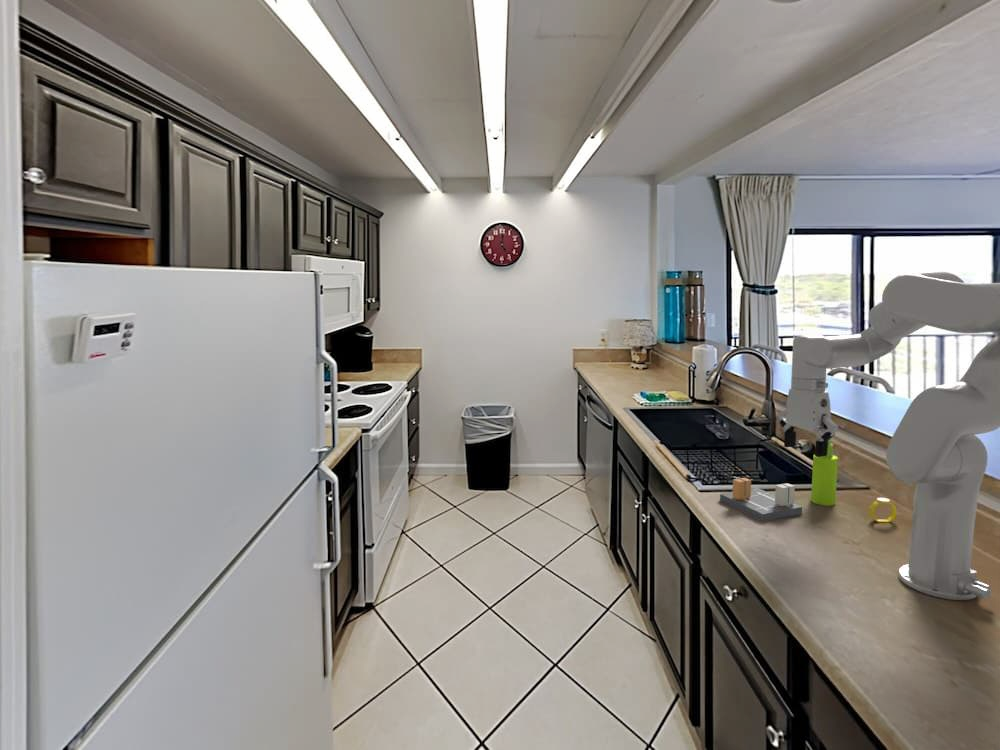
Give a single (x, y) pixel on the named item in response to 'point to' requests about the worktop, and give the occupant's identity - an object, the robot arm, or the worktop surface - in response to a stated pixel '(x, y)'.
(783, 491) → the fader ivory
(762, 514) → the mixer panel
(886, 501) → the watch
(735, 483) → the fader orange
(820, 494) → the soap dispenser
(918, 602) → the worktop surface
